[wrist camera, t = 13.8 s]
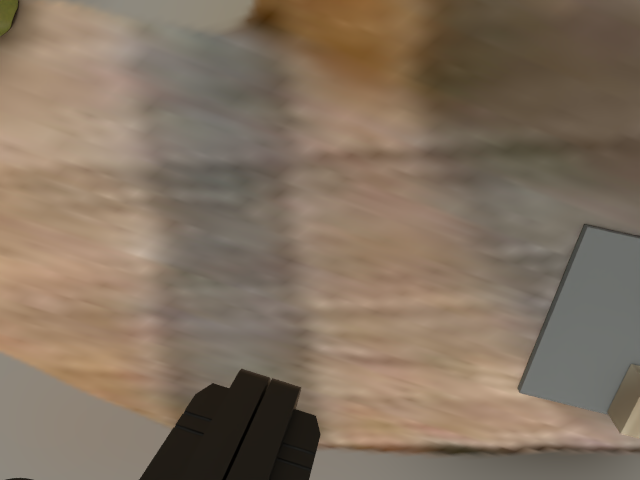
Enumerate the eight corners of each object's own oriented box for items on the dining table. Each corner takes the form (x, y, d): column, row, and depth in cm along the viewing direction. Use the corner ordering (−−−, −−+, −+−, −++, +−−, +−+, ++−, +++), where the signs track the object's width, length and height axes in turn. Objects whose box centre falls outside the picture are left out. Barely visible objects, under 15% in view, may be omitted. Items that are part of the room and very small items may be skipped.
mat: (584, 224, 35) (587, 226, 34) (746, 260, 34) (752, 263, 33) (517, 388, 39) (519, 392, 39) (658, 422, 39) (662, 427, 38)
